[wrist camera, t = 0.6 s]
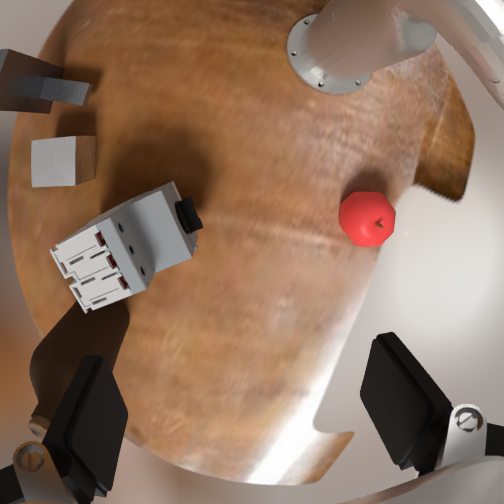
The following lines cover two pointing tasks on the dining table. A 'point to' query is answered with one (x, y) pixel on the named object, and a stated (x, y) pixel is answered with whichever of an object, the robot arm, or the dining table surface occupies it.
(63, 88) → the grey l-shaped bracket part
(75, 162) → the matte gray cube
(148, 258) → the circuit breaker
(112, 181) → the dining table surface
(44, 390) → the olive oil
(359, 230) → the apple
